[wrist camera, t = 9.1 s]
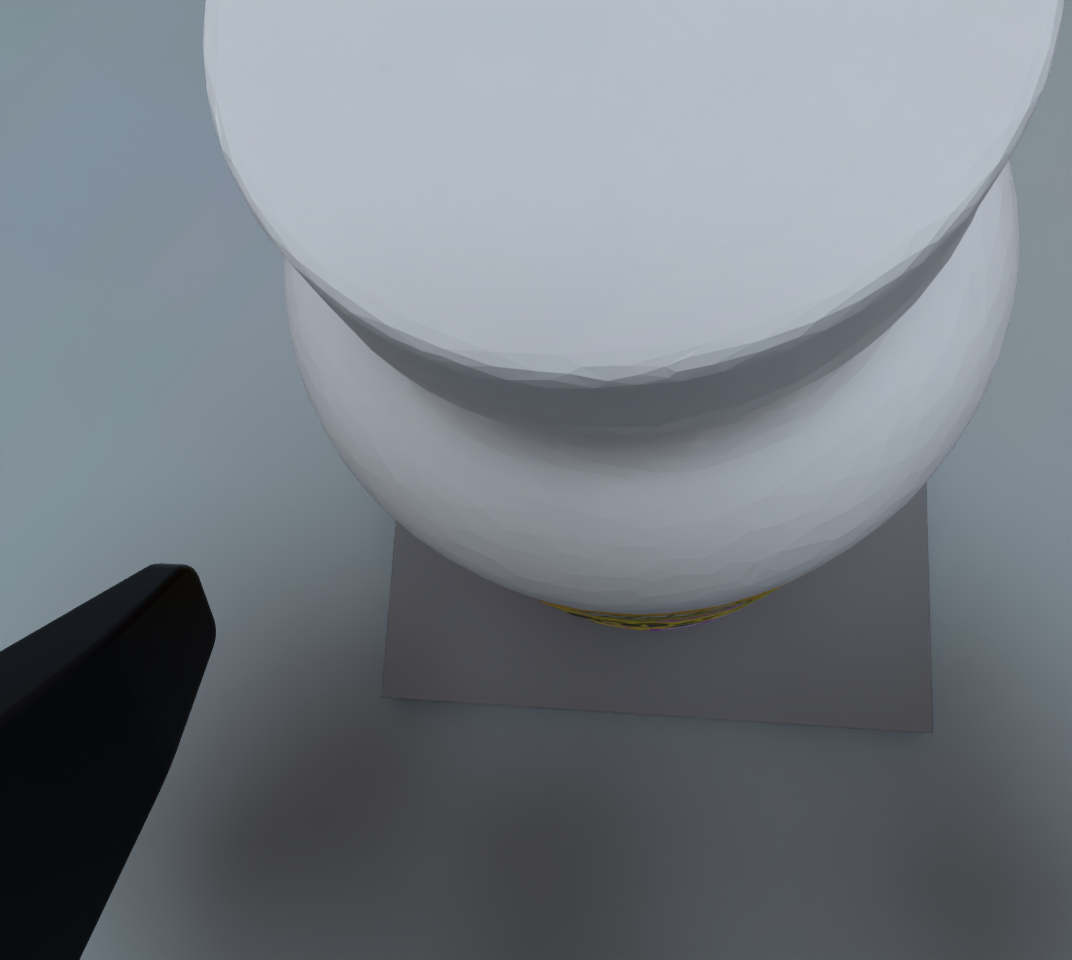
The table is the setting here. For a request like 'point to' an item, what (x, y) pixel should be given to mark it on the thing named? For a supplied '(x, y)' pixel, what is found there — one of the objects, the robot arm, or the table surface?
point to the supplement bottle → (637, 267)
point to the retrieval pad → (681, 644)
